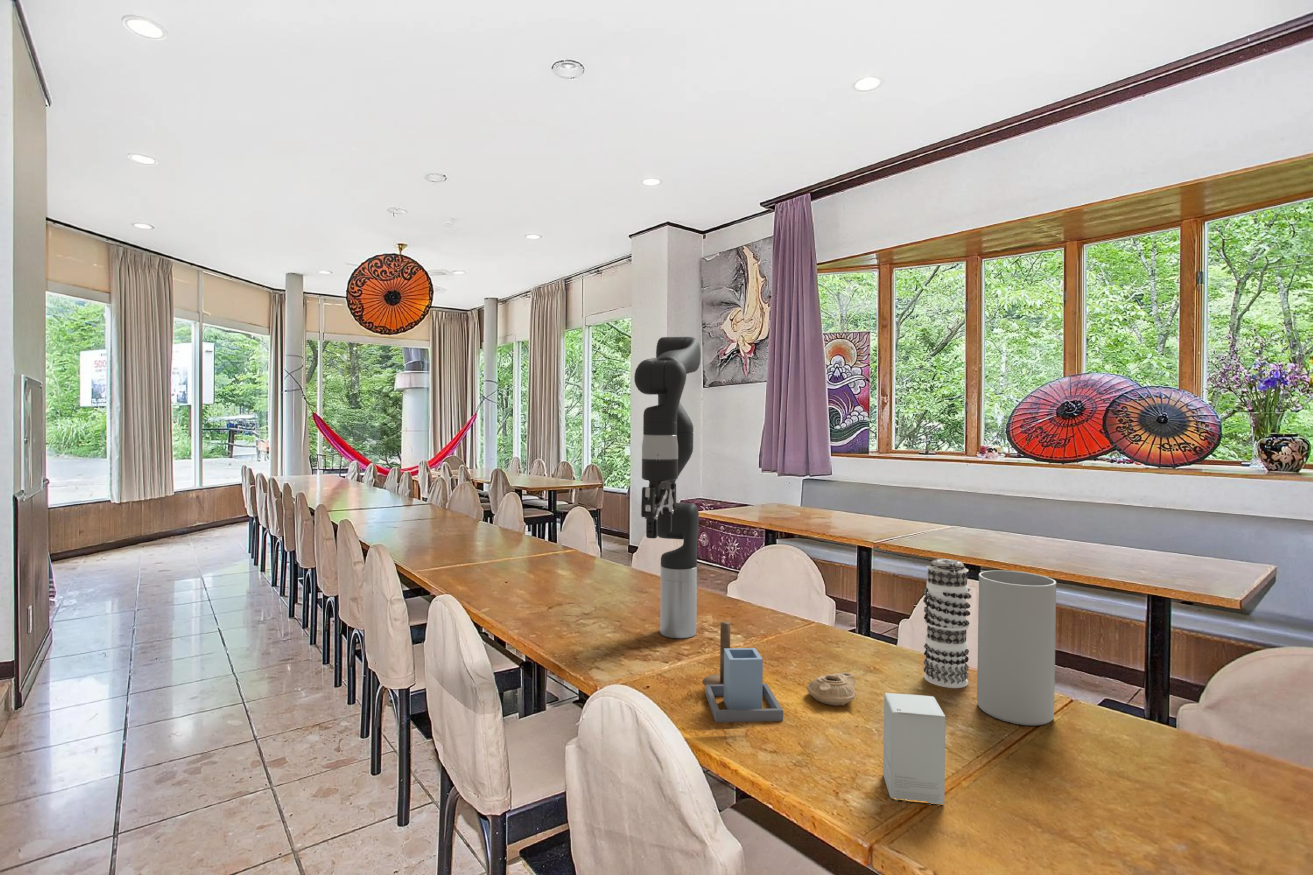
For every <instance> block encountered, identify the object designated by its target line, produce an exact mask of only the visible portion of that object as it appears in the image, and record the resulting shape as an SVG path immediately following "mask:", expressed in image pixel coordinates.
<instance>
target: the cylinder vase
mask: <svg viewBox="0 0 1313 875" xmlns="http://www.w3.org/2000/svg"><path fill="white" fill-rule="evenodd" d="M977 603H978V605H977V606H978V612H977V615H978V616H977V621H978V623H977V676H976V677H977V678H976V680H977V682H976V687H977V688H976V690H977V691H976V701H977V702H976V703H977V706H978V707H979V709H980V710H982V711H983V712H984V713H986V714H987V715H989V716H990V717H992V718H994V719H998V720H1000V721H1003V722H1005V723H1009V722H1010V724H1015V725H1019V724H1020V725H1021V726H1029V727H1030V726H1043V725H1047V724H1049V723H1050V722H1052V720H1053V719H1054V717H1055V684H1056V683H1055V681H1056V680H1055V679H1056V676H1055V674H1056V673H1055V672H1056V622H1057V621H1056V615H1057V614H1056V612H1057V609H1056V608H1057V581H1056V580H1055V579H1053V578H1050V577H1048V576H1045V575H1041V574H1035V573H1030V572H1023V571H1013V570H985V571H981V572H979V573H978V602H977Z"/></svg>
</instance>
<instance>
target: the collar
mask: <svg viewBox="0 0 1313 875" xmlns="http://www.w3.org/2000/svg"><path fill="white" fill-rule="evenodd" d="M763 663H764V659H763V657H762V655H761V654H760V653H759V651H758V650H757V648H756V647H741V648H740V647H736V648H735V647H734V648H731V647H730V648H724V696H723V702H724V705H725V708H726V710H729V709H763V695H762V686H763V683H764V682H763V681H764V680H763V674H764V673H763V672H764V671H763V670H764V669H763V668H764V666H763Z"/></svg>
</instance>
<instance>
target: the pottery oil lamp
mask: <svg viewBox="0 0 1313 875" xmlns="http://www.w3.org/2000/svg"><path fill="white" fill-rule="evenodd" d="M855 686H856V679H855V676H854V674H853V673H851V672H844V671H843V672H837V673H831V674H825V675H822V676H818V677H816V678H814V679H812V680H811V681H810V682H809V683H808V684H807V685H806V690H807V693H808V694H809V695H810V696H812V697H813V698H814V699H815V700H816V701H817V702H820V703H821V704H825V705H828V706H833V707H835V706H837V707H838V706H839V707H840V706H842V707H843V706H845V705H846V704H848V703H850V702H851V701H853V700H854V699H855V698H856V697H857V693H856V690H855Z"/></svg>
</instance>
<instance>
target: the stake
mask: <svg viewBox="0 0 1313 875" xmlns="http://www.w3.org/2000/svg"><path fill="white" fill-rule="evenodd" d="M719 631H720V632H719V635H720V636H719V637H720V638H719V639H720V641H719V642H720V644H719V645H720V646H719V648H720V650H719V656H720V657H719V658H720V659H719V662H720V663H719V673H714V674H710V675H707V676H705V677H704V678H703V679H702V685H704V686H705V687H706V685H713V684H724V648H731V622H730V621H721V622H720V630H719Z"/></svg>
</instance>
